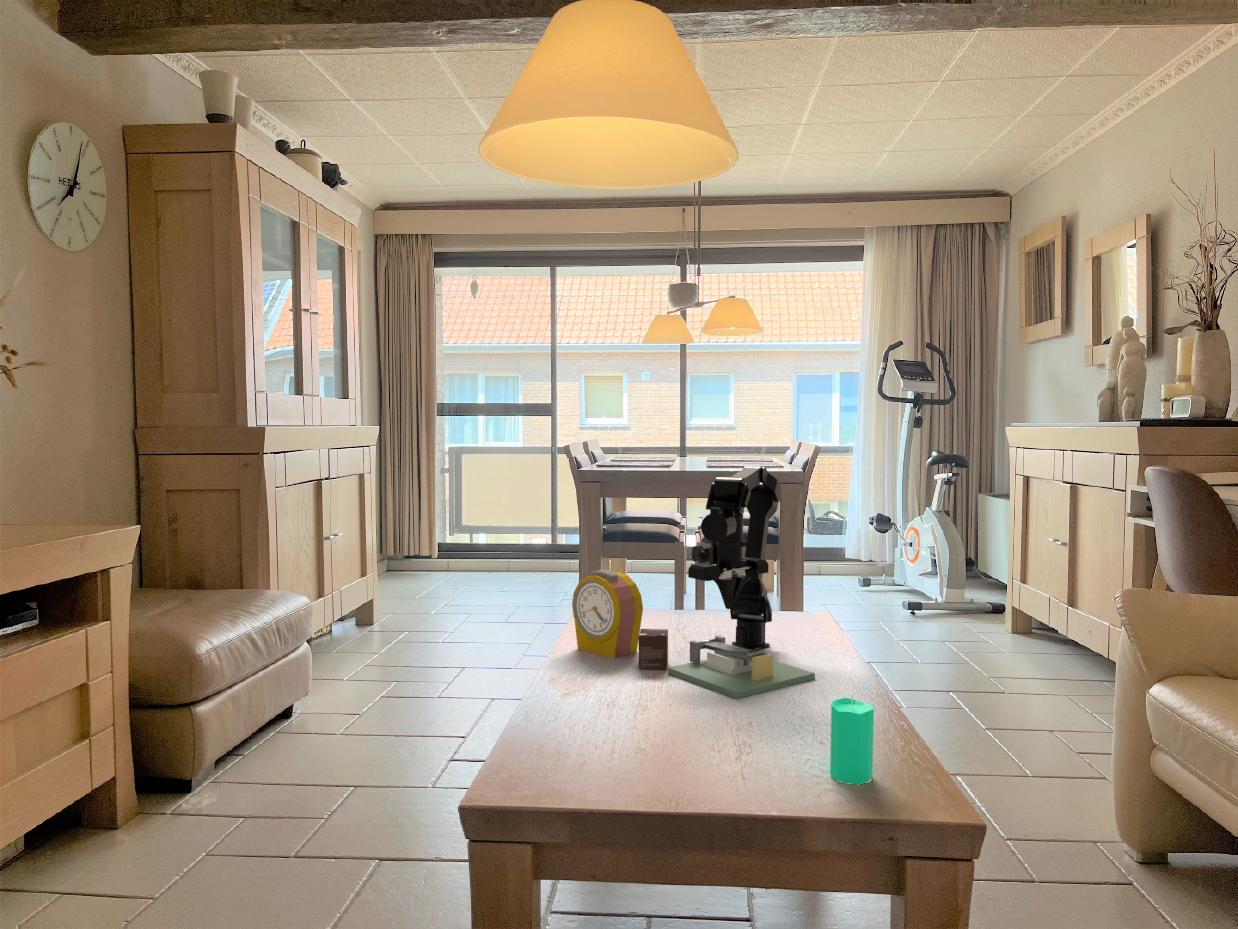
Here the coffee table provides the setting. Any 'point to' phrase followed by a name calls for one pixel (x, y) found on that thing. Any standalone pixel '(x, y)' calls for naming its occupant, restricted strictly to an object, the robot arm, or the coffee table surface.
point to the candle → (851, 741)
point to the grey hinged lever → (730, 649)
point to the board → (738, 672)
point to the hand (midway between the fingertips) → (728, 608)
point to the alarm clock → (607, 613)
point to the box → (653, 649)
